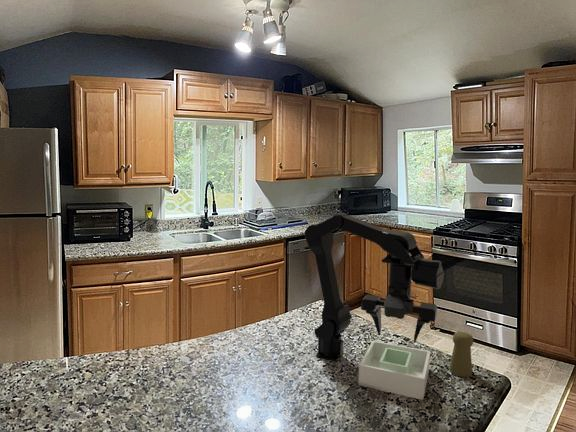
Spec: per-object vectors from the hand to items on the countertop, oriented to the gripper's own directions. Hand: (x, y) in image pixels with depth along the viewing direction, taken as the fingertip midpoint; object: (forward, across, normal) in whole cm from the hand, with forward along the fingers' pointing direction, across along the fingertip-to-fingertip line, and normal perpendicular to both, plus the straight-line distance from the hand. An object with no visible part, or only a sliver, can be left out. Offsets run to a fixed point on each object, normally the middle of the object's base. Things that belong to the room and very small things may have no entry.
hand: (396, 338), depth 111 cm
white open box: (+11, 0, 0) cm, 11 cm away
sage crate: (+10, 0, 0) cm, 10 cm away
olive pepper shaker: (+11, +16, +11) cm, 22 cm away
